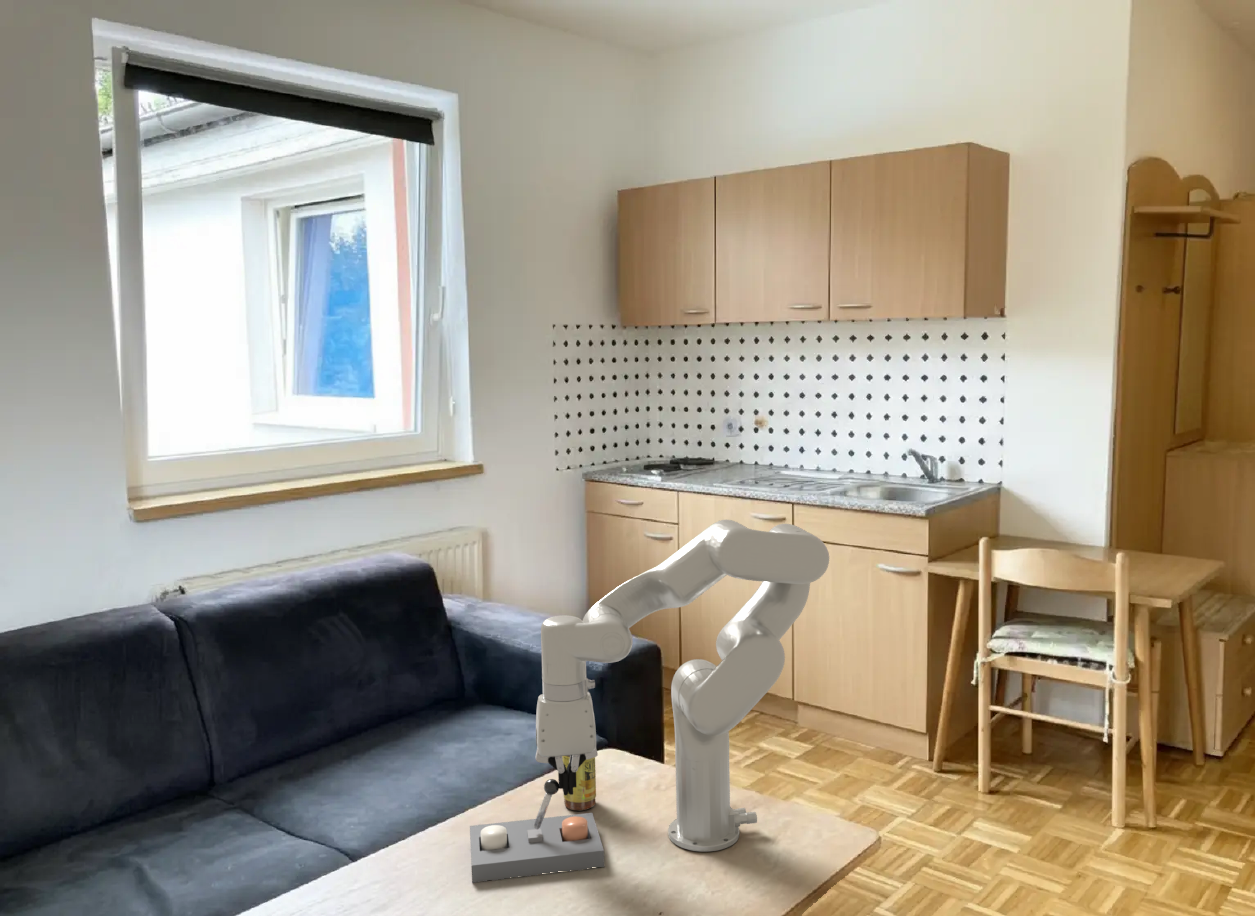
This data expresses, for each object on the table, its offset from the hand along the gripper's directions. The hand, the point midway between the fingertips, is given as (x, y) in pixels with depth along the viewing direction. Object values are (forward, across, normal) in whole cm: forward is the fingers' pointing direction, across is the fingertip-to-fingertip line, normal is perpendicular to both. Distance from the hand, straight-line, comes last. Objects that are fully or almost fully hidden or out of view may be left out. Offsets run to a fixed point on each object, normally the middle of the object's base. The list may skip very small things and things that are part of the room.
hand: (567, 791), depth 174 cm
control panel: (+11, +6, 0) cm, 12 cm away
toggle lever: (+7, +6, 0) cm, 9 cm away
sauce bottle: (+11, -4, -17) cm, 21 cm away
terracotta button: (+9, -1, 0) cm, 9 cm away
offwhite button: (+9, +13, 0) cm, 16 cm away
